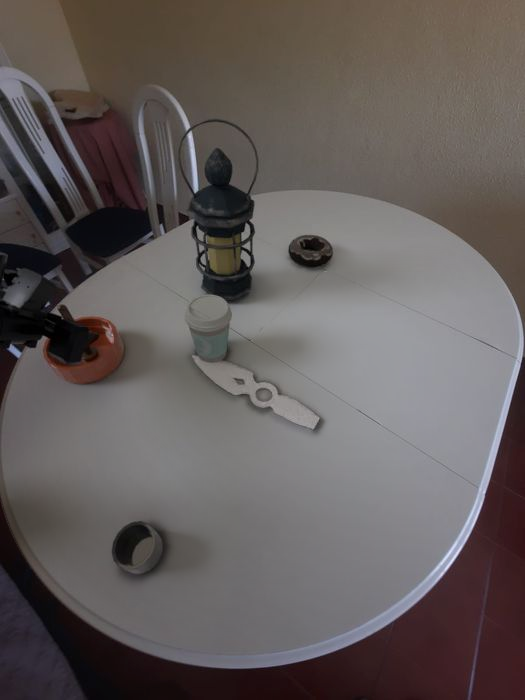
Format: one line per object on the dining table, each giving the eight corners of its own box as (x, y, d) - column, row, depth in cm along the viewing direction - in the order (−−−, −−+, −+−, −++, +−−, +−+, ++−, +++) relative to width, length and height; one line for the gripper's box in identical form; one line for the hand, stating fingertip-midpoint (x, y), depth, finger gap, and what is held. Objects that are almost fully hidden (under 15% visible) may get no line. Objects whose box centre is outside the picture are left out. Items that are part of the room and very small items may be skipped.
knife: (308, 438, 58) (309, 436, 57) (181, 366, 67) (181, 364, 66) (323, 411, 61) (324, 409, 60) (200, 346, 70) (200, 344, 69)
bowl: (60, 395, 62) (47, 380, 58) (51, 346, 69) (39, 329, 65) (132, 369, 66) (125, 353, 62) (116, 325, 73) (109, 308, 70)
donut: (330, 246, 94) (333, 233, 91) (331, 272, 87) (334, 259, 84) (289, 243, 95) (290, 230, 92) (286, 268, 87) (287, 255, 84)
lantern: (192, 305, 78) (161, 134, 51) (202, 270, 86) (180, 106, 59) (254, 309, 78) (255, 138, 51) (258, 273, 86) (261, 110, 59)
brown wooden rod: (96, 361, 66) (67, 311, 56) (79, 362, 66) (47, 312, 56) (100, 348, 68) (73, 298, 58) (83, 349, 68) (53, 299, 58)
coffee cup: (186, 343, 70) (178, 297, 62) (226, 334, 73) (223, 288, 64) (196, 373, 65) (189, 328, 56) (238, 362, 67) (238, 317, 59)
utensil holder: (127, 582, 44) (117, 578, 41) (118, 541, 47) (107, 534, 44) (167, 560, 46) (161, 554, 43) (156, 521, 49) (148, 513, 46)
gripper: (50, 289, 44) (131, 302, 59) (-43, 248, 49) (53, 270, 64) (29, 369, 45) (113, 362, 60) (-59, 321, 50) (39, 325, 65)
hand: (79, 327), depth 62 cm, fingers open, 9 cm apart
